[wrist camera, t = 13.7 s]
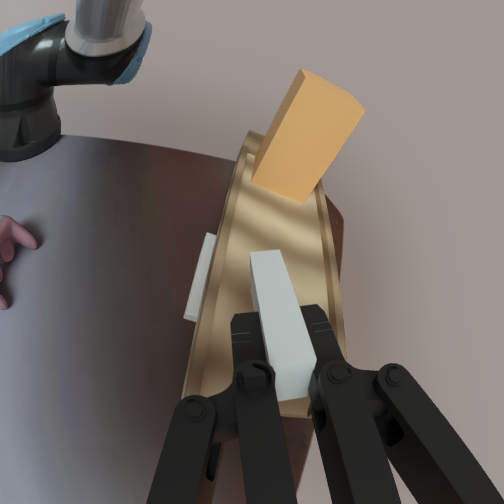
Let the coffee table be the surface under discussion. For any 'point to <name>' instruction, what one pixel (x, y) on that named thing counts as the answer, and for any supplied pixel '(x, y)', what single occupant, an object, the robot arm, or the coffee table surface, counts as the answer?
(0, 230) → the video game controller
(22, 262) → the coffee table surface
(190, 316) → the pivot stand
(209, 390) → the beam
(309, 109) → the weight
